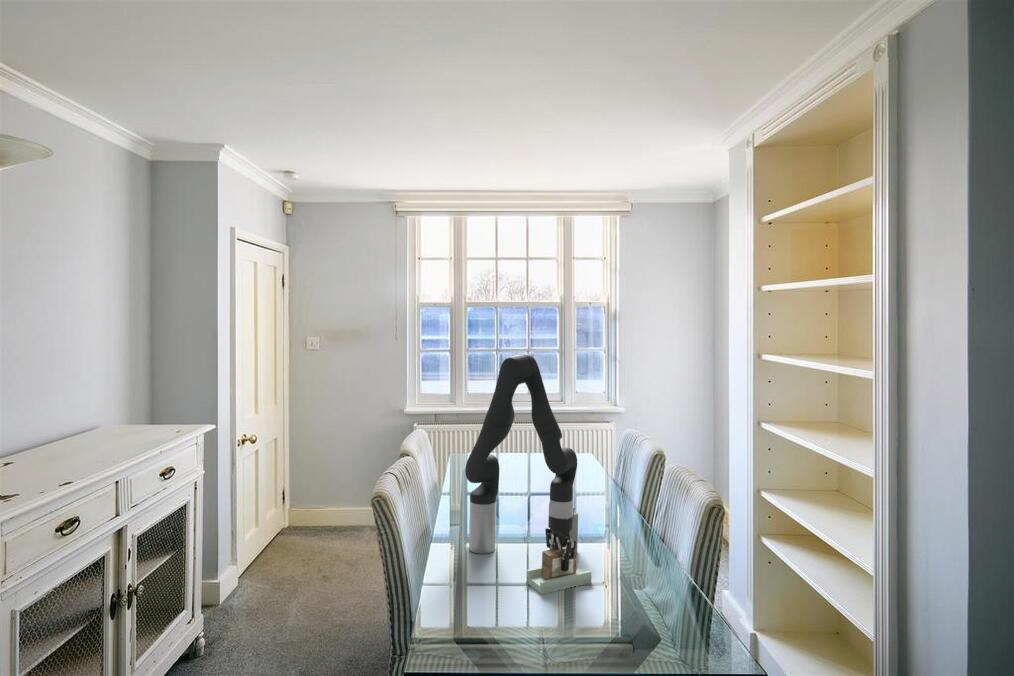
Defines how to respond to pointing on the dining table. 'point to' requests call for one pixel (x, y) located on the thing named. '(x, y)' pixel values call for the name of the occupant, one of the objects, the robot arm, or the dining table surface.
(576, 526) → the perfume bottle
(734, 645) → the dining table surface
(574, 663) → the dining table surface
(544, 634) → the dining table surface
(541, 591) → the ledge
